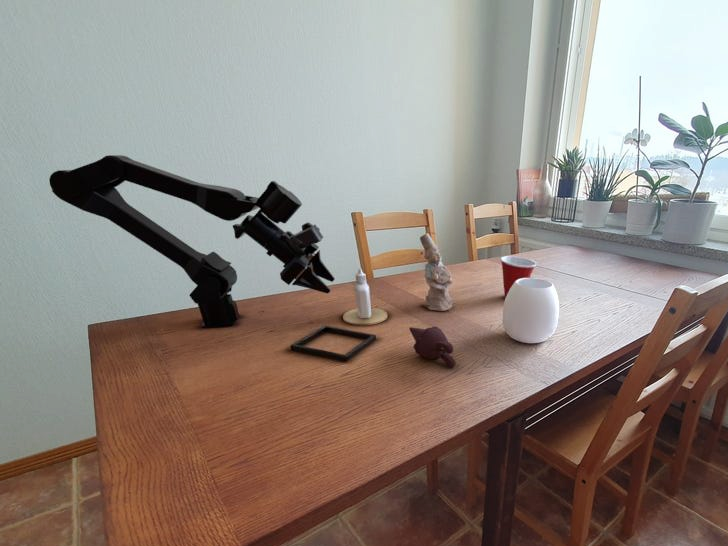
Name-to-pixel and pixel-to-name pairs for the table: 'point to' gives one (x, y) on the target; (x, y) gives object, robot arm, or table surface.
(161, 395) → the table surface
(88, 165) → the robot arm
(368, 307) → the eye dropper bottle
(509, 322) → the white vase
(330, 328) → the empty black square frame
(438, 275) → the figurine
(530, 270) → the plastic cup
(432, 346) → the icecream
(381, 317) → the cork trivet
